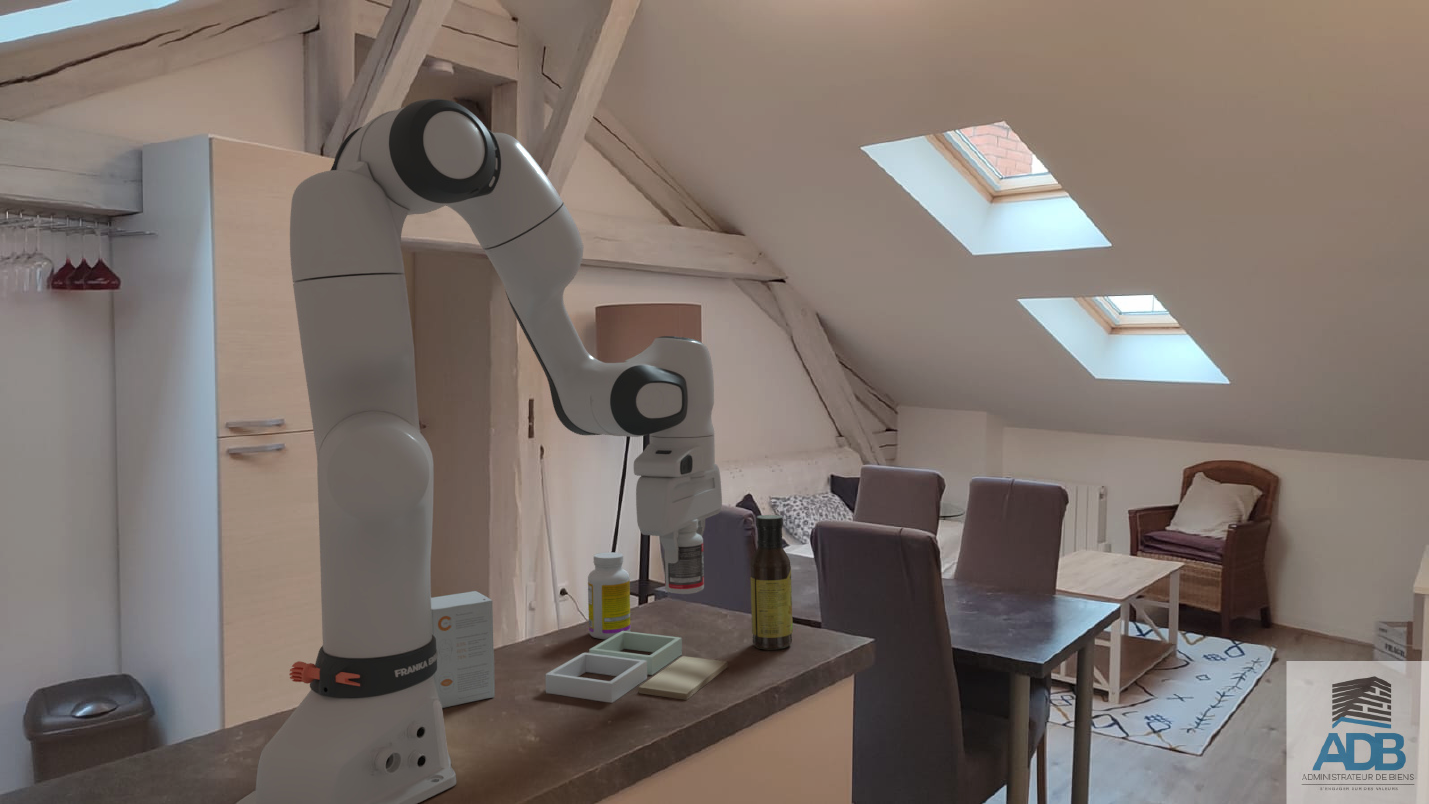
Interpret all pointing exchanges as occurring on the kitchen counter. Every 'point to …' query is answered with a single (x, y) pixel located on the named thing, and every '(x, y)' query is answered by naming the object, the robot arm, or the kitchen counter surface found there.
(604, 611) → the supplement bottle
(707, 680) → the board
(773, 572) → the sauce bottle
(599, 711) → the kitchen counter surface
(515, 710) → the kitchen counter surface
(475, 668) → the small box
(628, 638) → the sage tray
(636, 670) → the white square frame
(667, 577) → the pill bottle
